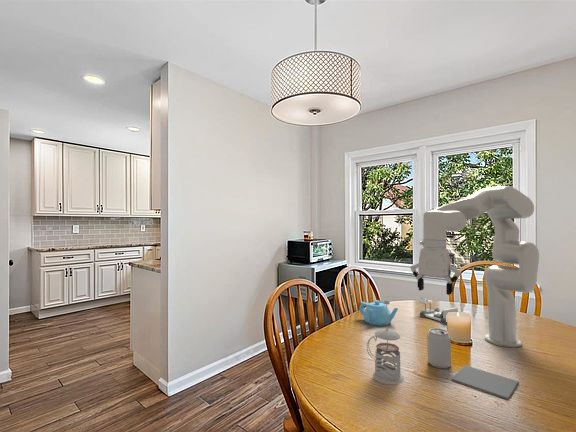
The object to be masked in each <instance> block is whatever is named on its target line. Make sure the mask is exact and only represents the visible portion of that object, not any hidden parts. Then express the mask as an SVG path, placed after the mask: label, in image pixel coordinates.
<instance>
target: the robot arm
mask: <svg viewBox="0 0 576 432" xmlns="http://www.w3.org/2000/svg"><path fill="white" fill-rule="evenodd" d="M534 211H535V205H534V203H533V201H532V199H531V198H530V197H528V196H527V195H525V194H524V193H523V192H521V191H520V190H518V189H517V188H515V187H512V186H509V185H502V186H501V185H500V186H491V187H484V188H482V189H479V190H478V191H475V192H474V193H473V194H471V195H469V196H467V197H465V198H463V199H459V200H457V201H453V202H450V203H448V204H445V205H442V206H439V207H437V208H435V209H434V210H428V211H425V212H424V213H423V215H422V216H423V218H422V220H423V221H422V222H423V224H422V225H423V230H422V231H423V233H422V234H423V235H422V236H423V238H422V240H420V241H419V245H420V246H421V245H422V247H421V248H420V251H419V257H418V263H416V264H414V265H411V266H410V270H411V272H412V274H413V276H415V279H416V280H417V288H418V291H423V290H424V288H425V280H424V277H425V276H426V277H433V278H434V277H435V278H444V279H445V280H446V282H447V283H446V291H445V292H446V294H445V295H448V296H449V295H451V294H452V293H453V291H454V283H455V282H456V281H457V280H458V279H459V277H460V276H461V274H462V271H461V270H459V269H458V268H455V267H454V266H452V264H451V257H450V251H449V249H448V248H447V232H458V231H462V230H464V229H465V228H466V226H467V222H468V220H471V219H475V218H478V217H480V216H482V215H483V214H485V213H487V216H488V217H489V218H490V220H491V222H492V224H493V226H494V239H493V243H492V251H491V252H492V253H491V256H492V259H493V260H494V261H495V262H497V263H502V264H509V265H510V264H511V265H519V267H515V266H509V265H508V266H506V265H500V264H499V265H498V264H497V265H496V264H495V265H491V266H488V267H487V268H486V269H485V270H484V281H485V285H486V291H487V313H488V314H487V316H488V317H487V318H488V333H486V334H485V335H484V340H485V341H486V342H489V343H490V344H493V345H496V346H501V347H506V348H517V347H521V346H522V341H521V340H520V339H518V338H517V314H516V313H517V311H516V310H517V309H516V306H517V304H516V298H515V296H514V294H513V293H512V292H518V293H523V294H526V293H527V294H529V293H531V292H533V291H534V289H535V288H536V284H537V279H538V270H539V263H540V252H539V249H538V247H537V245H536V244H534V243H533V242H530V241H520V240H519V238H520V229H519V227H518V225H517V224H516V223H515V222H514V220H512V219H527V218H530V217H531V216H532V215H533V214H534ZM417 268H418V269H417ZM417 270H418V271H417ZM451 272H453V273H454V276H451V274H452V273H451ZM511 291H512V292H511Z"/></svg>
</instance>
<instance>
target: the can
mask: <svg viewBox="0 0 576 432" xmlns="http://www.w3.org/2000/svg"><path fill="white" fill-rule="evenodd" d="M451 339H452V338H451V335H450V334H449V331H448V330H447V329H444V328H437V327H433V328H432V327H431V328H430V329H428V332H427V333H426V340H427V341H426V342H427V343H426V344H427V346H426V347H427V349H426V350H427V362H428V363H429V364H430V365H431V366H432V367H434V368H437V369H447V368H449V367H450V366H451V365H452V348H451V347H452V345H451V344H452V342H451Z"/></svg>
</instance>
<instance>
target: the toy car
mask: <svg viewBox="0 0 576 432" xmlns="http://www.w3.org/2000/svg"><path fill="white" fill-rule="evenodd" d="M418 303H420V304H422V305H424V309H421V312H420V313H419V317H421V318H429V319H432V320H435V321H438V322H440V323H441V324H442V323H443V324H442V325H447V324H446V315H447V313H448V312H458V313H459V311H458V310H459V309H458V307H457V306H456V307H451V308H446V309H443V310H441V312H440V308H438V307H436V308H433V309H432V305H431V304H433V300H429V299H428V300H427V298H426V297H423V298H422V297H420V300H419V301H418ZM427 303H429V308H427Z"/></svg>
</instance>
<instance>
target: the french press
mask: <svg viewBox="0 0 576 432" xmlns="http://www.w3.org/2000/svg"><path fill="white" fill-rule="evenodd" d="M383 301H384V304H385V305H386V312H387V307H388V305H390V301H389V300H388V299H385V300H383ZM400 338H401V334H399V333H398V332H397V331H396V330H393V329H390V328H388V327H386V328H383V329H382V328H381V329H378V330H377V331H375V332H374V335H373V336H371V337H370V338H369V339H368V341H367V343H366V350H367V354H368V355H369V357H370V358H371V359H373V360H374V368H375V369H374V371H373V373H372V377H373V378H374V380H376V381H377V382H379V383H381V384H386V385H393V386H394V385H400V384H402V383H403V382H405V378H404V376H403V374H401V352H400V351H399V350H400V347H399V346H398V345H396V344H394V343H390V342H389V341H397V340H400ZM372 339H374V342H376V341H377V340H378V339H381V340H383V341H386V342H380V343H378V344H376V347H375V348H376V350H375V351H374V352H375V355H374V354H372V351H371V349H370V341H371V340H372ZM371 355H372V356H371Z"/></svg>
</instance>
